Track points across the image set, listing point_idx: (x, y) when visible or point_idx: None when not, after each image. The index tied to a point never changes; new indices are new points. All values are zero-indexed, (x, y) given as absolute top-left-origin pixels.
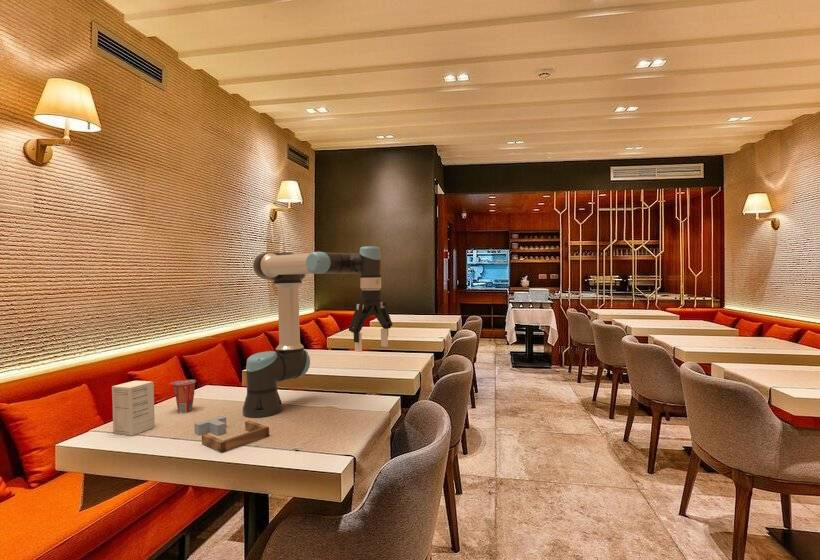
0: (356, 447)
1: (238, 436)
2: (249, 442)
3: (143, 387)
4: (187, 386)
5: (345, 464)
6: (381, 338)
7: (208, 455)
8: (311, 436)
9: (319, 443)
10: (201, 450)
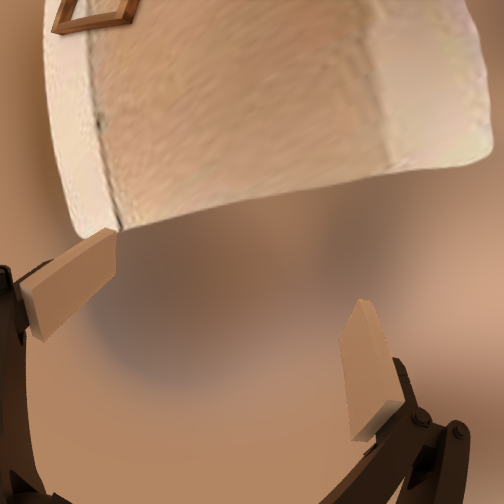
0: (149, 218)
1: (73, 23)
2: (96, 27)
3: None
4: None
5: None
6: (367, 337)
7: None
8: (156, 94)
9: (134, 137)
10: None
